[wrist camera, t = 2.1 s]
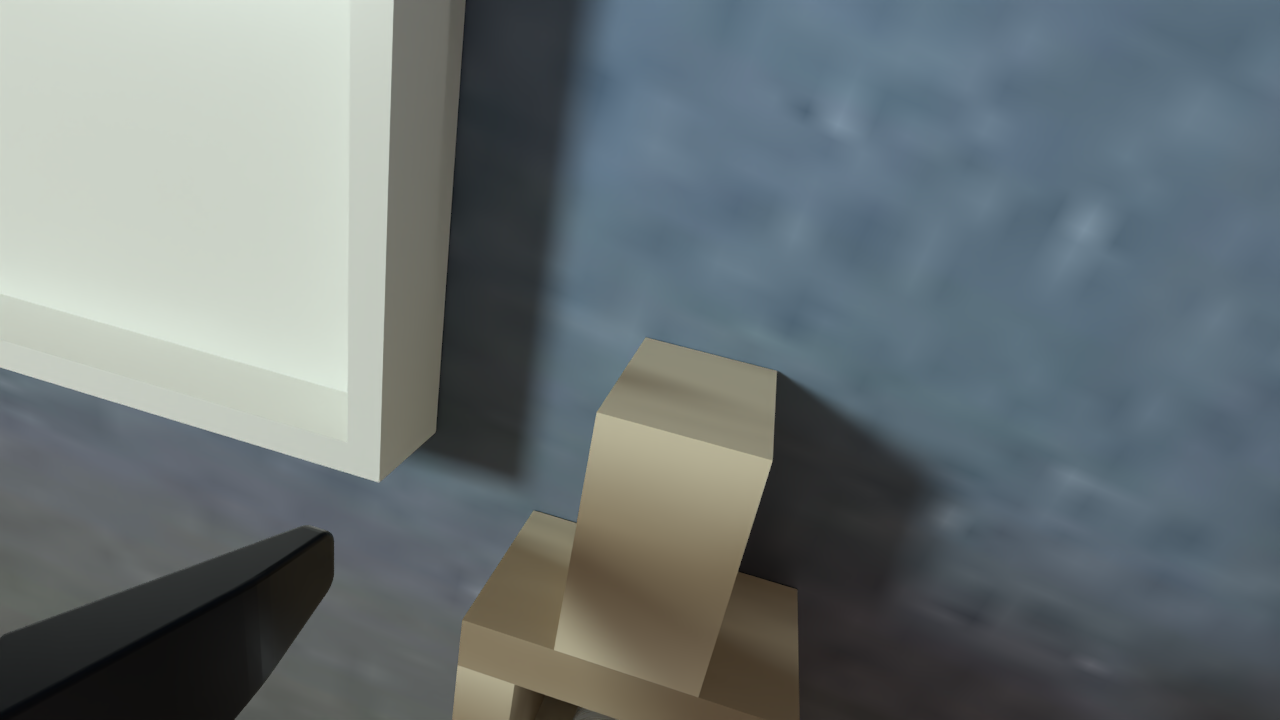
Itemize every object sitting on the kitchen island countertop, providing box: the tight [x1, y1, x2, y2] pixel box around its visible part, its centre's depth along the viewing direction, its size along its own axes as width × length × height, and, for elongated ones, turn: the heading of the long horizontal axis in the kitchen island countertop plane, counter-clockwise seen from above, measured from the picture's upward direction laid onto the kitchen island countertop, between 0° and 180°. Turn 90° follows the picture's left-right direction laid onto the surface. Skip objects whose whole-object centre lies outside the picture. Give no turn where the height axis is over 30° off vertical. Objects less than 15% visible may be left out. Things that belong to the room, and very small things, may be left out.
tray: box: [0, 0, 466, 482], centre depth 14 cm, size 17×12×2 cm
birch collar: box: [452, 338, 800, 720], centre depth 15 cm, size 12×7×4 cm, turn 169°
